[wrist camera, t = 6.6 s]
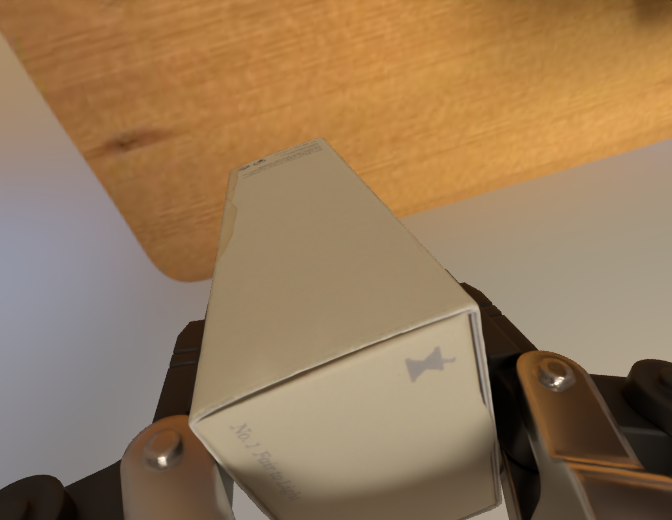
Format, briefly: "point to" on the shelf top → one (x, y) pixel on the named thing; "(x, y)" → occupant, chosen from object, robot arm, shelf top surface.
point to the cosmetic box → (340, 355)
